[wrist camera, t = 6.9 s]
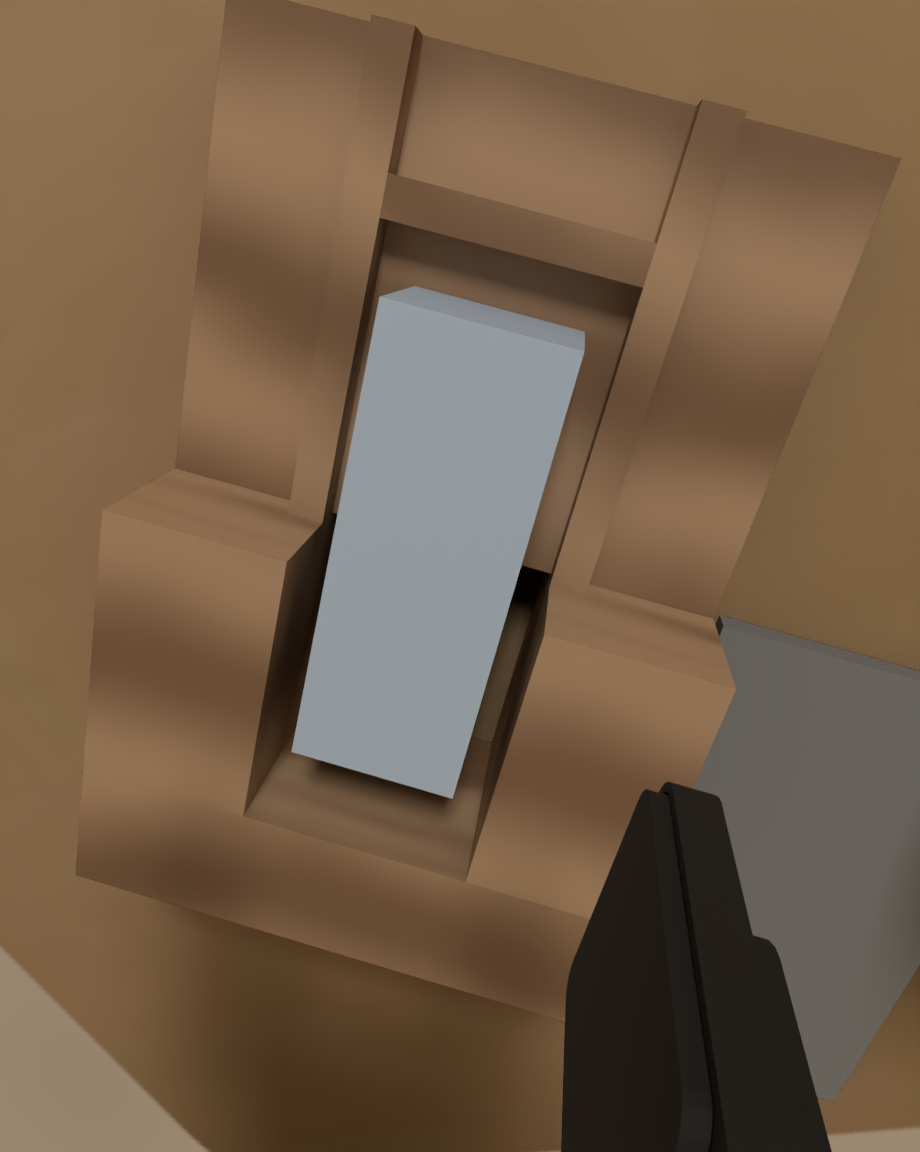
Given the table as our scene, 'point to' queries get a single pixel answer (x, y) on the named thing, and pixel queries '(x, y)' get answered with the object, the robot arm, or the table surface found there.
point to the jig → (566, 511)
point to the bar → (431, 531)
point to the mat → (824, 829)
